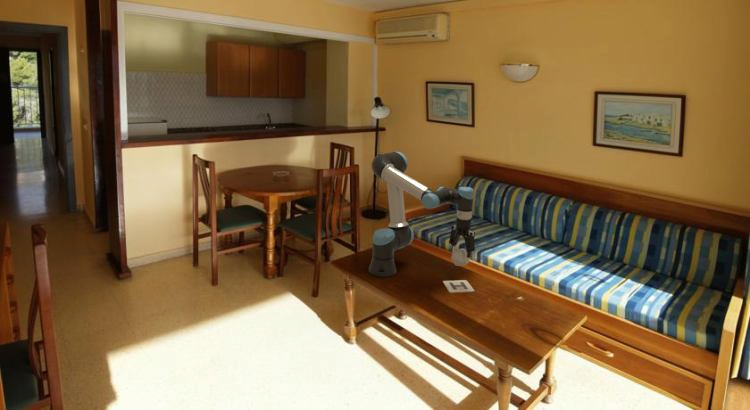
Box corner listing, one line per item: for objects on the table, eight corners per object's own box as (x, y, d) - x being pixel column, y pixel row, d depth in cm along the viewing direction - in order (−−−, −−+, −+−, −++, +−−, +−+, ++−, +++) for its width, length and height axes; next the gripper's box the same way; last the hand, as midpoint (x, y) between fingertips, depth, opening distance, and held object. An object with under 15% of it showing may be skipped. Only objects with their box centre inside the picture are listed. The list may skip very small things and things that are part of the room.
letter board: (449, 292, 247) (450, 291, 247) (442, 282, 260) (442, 280, 260) (474, 291, 249) (474, 290, 249) (466, 281, 262) (466, 280, 262)
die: (465, 269, 245) (474, 252, 247) (449, 261, 245) (458, 243, 247) (461, 270, 253) (469, 253, 255) (446, 261, 253) (454, 244, 255)
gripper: (443, 214, 250) (440, 255, 256) (475, 224, 234) (471, 268, 240) (453, 211, 254) (450, 252, 260) (485, 222, 239) (481, 265, 245)
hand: (460, 260), depth 250 cm, fingers closed on die, 8 cm apart
